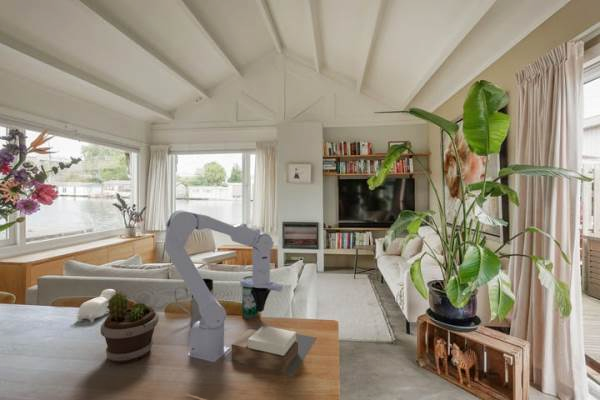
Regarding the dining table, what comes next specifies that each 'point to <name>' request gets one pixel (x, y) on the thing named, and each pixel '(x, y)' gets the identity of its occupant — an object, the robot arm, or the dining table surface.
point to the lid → (272, 340)
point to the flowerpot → (128, 329)
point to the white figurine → (95, 306)
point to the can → (248, 302)
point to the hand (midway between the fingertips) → (260, 310)
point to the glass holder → (194, 305)
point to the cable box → (262, 355)
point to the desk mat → (303, 349)
